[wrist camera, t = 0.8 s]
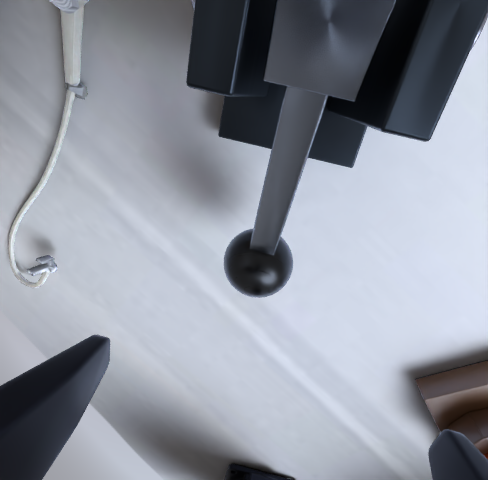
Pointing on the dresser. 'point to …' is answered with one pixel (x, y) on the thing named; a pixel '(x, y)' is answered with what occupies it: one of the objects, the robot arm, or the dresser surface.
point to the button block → (459, 401)
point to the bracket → (336, 109)
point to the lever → (302, 117)
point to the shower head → (72, 26)
